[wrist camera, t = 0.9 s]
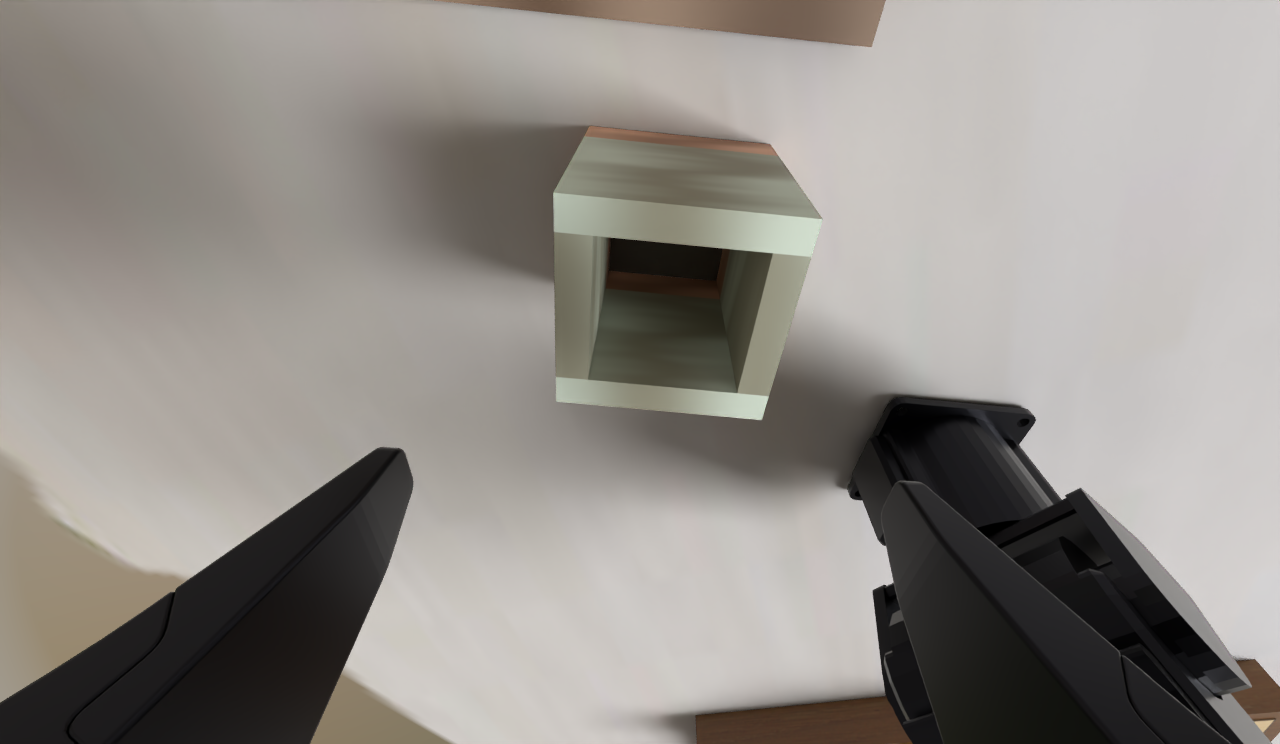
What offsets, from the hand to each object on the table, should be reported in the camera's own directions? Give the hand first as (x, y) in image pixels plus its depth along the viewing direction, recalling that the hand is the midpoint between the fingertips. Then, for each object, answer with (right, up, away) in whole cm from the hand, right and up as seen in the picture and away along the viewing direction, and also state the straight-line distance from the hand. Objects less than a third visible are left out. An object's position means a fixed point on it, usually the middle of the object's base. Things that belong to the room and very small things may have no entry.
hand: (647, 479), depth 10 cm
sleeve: (+1, +7, +9) cm, 12 cm away
